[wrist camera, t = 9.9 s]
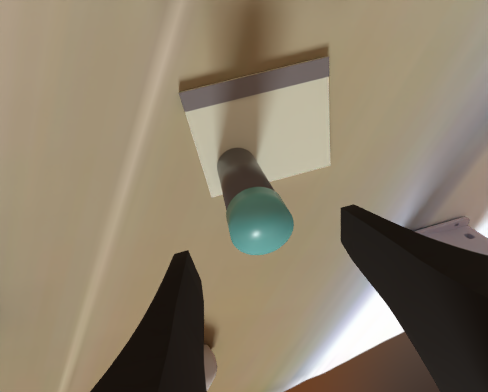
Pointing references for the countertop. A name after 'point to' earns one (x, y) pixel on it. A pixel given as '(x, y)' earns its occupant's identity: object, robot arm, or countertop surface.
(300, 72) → the notepad
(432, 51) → the countertop surface
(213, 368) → the tube
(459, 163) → the countertop surface
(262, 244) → the marker
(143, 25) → the countertop surface
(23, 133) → the countertop surface
